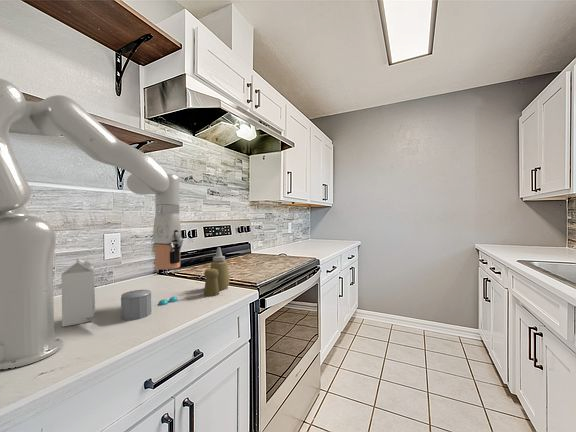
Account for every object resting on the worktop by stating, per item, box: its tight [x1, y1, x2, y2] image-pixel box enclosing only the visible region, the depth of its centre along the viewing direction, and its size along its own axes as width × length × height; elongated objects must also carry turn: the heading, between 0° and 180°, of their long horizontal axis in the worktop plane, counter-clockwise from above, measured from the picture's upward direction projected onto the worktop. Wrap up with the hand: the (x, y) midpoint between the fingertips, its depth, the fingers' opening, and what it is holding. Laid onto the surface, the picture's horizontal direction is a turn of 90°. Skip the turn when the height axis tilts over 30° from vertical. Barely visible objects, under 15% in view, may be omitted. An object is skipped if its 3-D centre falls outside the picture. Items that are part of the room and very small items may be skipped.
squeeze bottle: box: [209, 246, 230, 292], centre depth 108 cm, size 8×8×18 cm
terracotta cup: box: [154, 243, 181, 270], centre depth 91 cm, size 8×8×8 cm
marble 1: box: [157, 298, 169, 306], centre depth 90 cm, size 3×3×3 cm
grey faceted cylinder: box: [120, 289, 152, 321], centre depth 80 cm, size 8×8×8 cm
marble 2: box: [168, 296, 179, 303], centre depth 93 cm, size 3×3×3 cm
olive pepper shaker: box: [203, 268, 220, 298], centre depth 100 cm, size 6×6×11 cm
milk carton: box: [61, 255, 96, 327], centre depth 80 cm, size 7×7×19 cm
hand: (167, 261), depth 91 cm, fingers closed on terracotta cup, 7 cm apart
